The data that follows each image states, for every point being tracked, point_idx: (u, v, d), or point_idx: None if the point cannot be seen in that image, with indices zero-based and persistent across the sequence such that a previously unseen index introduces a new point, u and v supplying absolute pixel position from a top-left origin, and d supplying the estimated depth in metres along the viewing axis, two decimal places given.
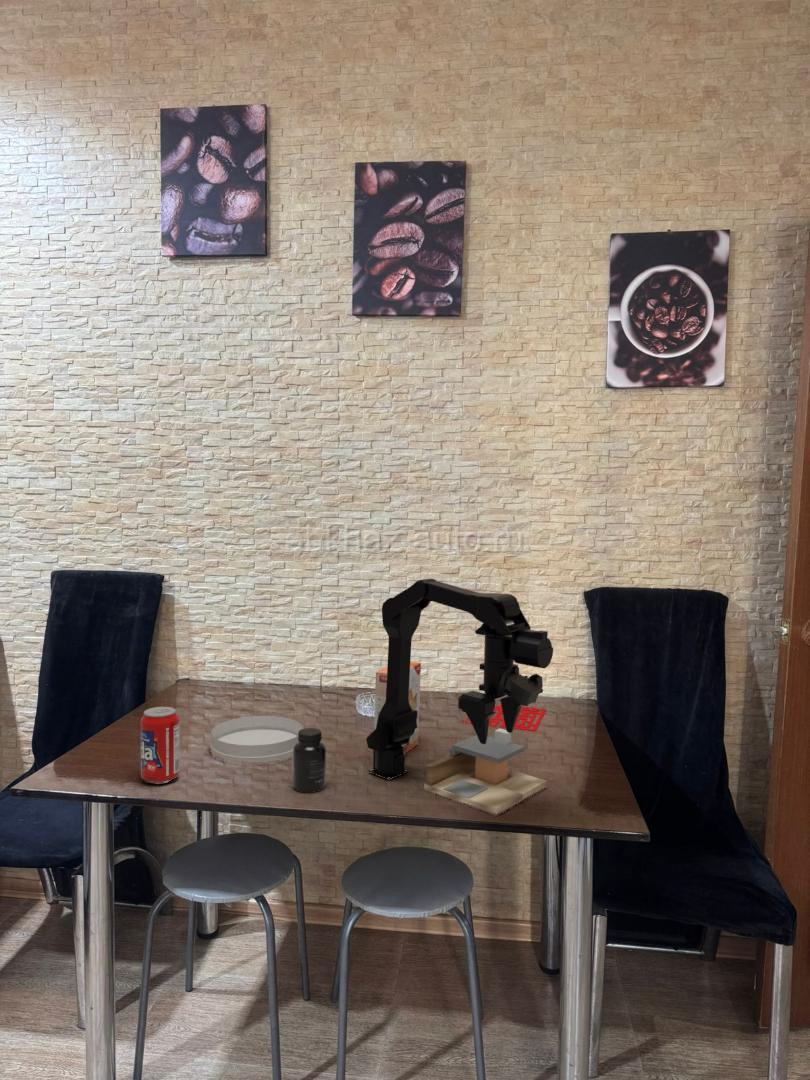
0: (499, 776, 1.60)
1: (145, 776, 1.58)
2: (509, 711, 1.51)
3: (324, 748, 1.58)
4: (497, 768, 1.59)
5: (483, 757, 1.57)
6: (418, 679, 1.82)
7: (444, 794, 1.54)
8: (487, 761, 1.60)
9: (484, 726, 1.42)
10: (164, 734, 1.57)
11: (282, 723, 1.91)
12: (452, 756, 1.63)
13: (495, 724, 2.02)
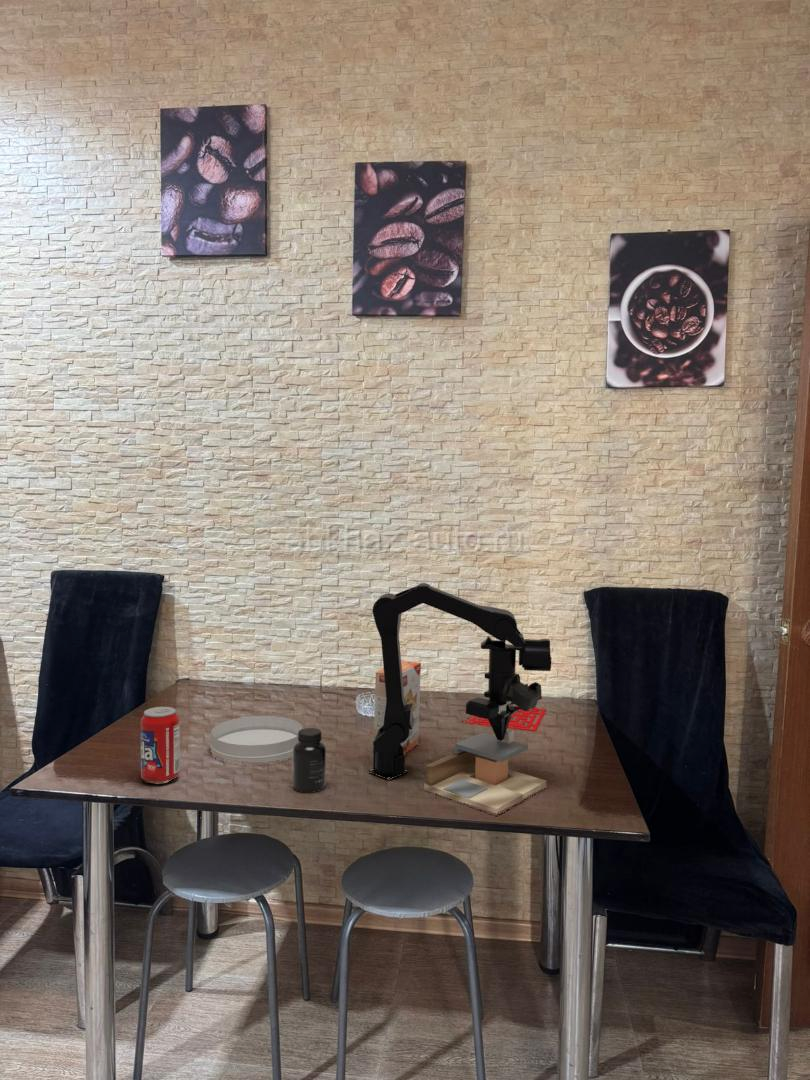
0: (499, 776, 1.60)
1: (145, 776, 1.58)
2: None
3: (324, 748, 1.58)
4: (497, 768, 1.59)
5: (486, 756, 1.58)
6: (418, 679, 1.82)
7: (444, 794, 1.54)
8: (487, 761, 1.60)
9: (501, 724, 1.62)
10: (164, 734, 1.57)
11: (282, 722, 1.91)
12: (452, 756, 1.63)
13: None
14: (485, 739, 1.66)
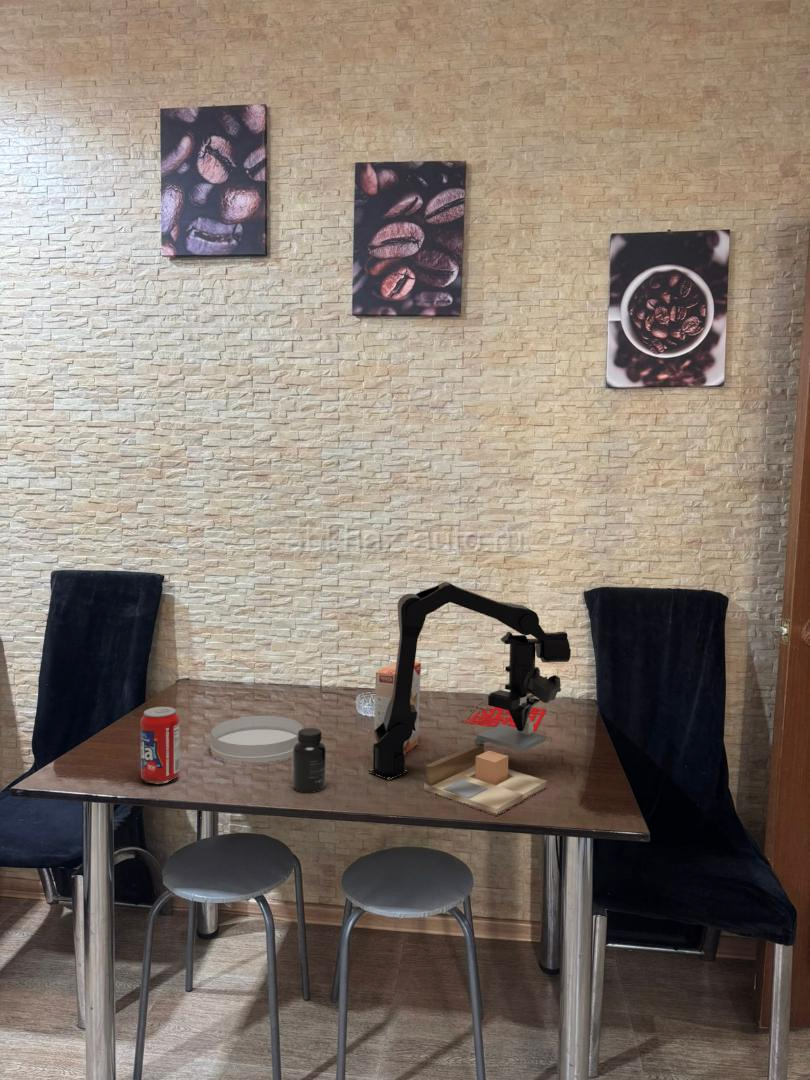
0: (499, 776, 1.60)
1: (145, 776, 1.58)
2: None
3: (324, 748, 1.58)
4: (497, 768, 1.59)
5: (507, 746, 1.64)
6: (418, 679, 1.82)
7: (444, 794, 1.54)
8: (487, 761, 1.60)
9: (521, 716, 1.68)
10: (164, 734, 1.57)
11: (282, 722, 1.91)
12: (452, 756, 1.63)
13: (495, 724, 2.02)
14: (506, 731, 1.72)
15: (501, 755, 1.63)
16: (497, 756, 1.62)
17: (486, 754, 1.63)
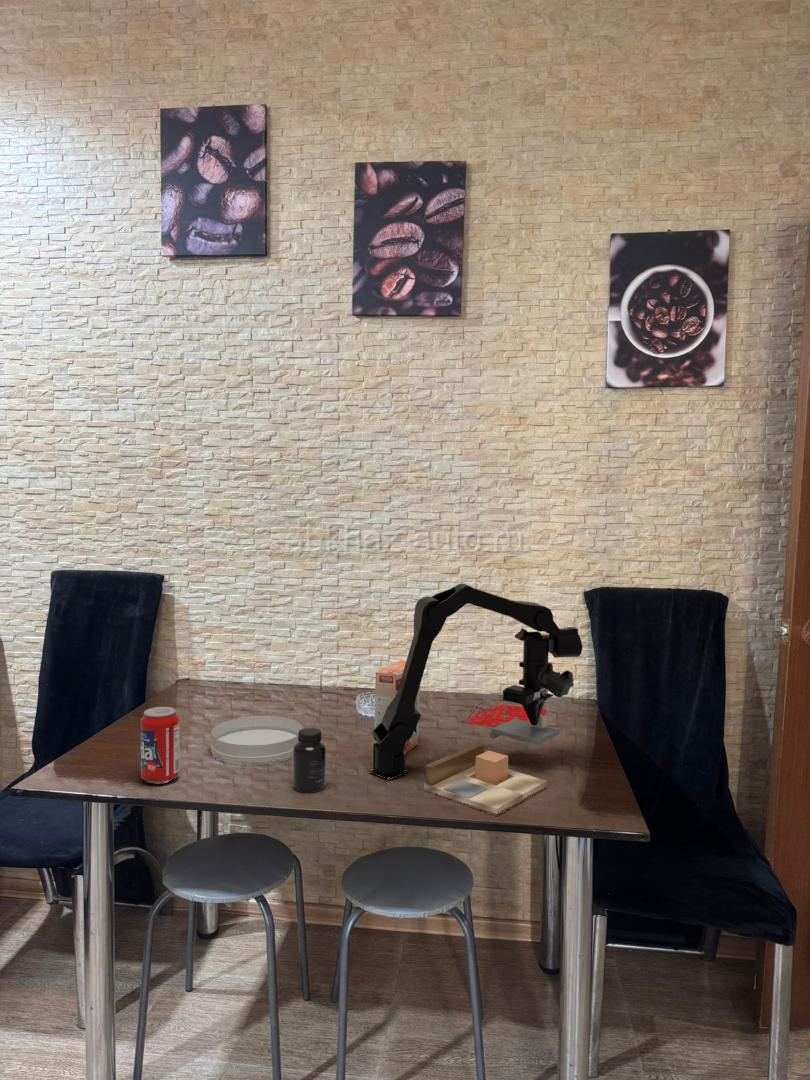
0: (499, 776, 1.60)
1: (145, 776, 1.58)
2: None
3: (324, 748, 1.58)
4: (497, 768, 1.59)
5: (522, 739, 1.69)
6: None
7: (444, 794, 1.54)
8: (487, 761, 1.60)
9: (535, 710, 1.72)
10: (164, 734, 1.57)
11: (282, 722, 1.91)
12: (452, 756, 1.63)
13: (495, 724, 2.02)
14: (519, 725, 1.77)
15: (501, 755, 1.63)
16: (497, 756, 1.62)
17: (486, 754, 1.63)
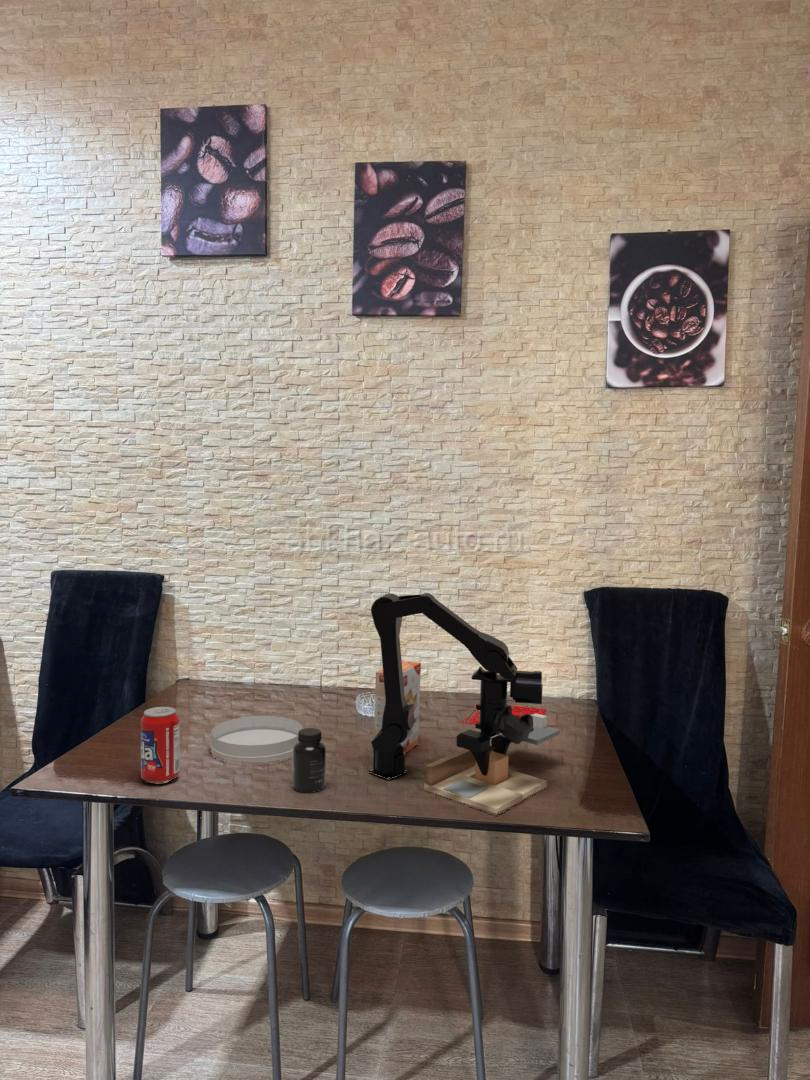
0: (499, 776, 1.60)
1: (145, 776, 1.58)
2: (498, 749, 1.64)
3: (324, 748, 1.58)
4: (497, 767, 1.59)
5: None
6: (418, 679, 1.82)
7: (444, 794, 1.54)
8: None
9: (485, 760, 1.58)
10: (164, 734, 1.57)
11: (282, 722, 1.91)
12: (452, 756, 1.63)
13: None
14: None
15: (501, 755, 1.63)
16: (498, 755, 1.62)
17: None
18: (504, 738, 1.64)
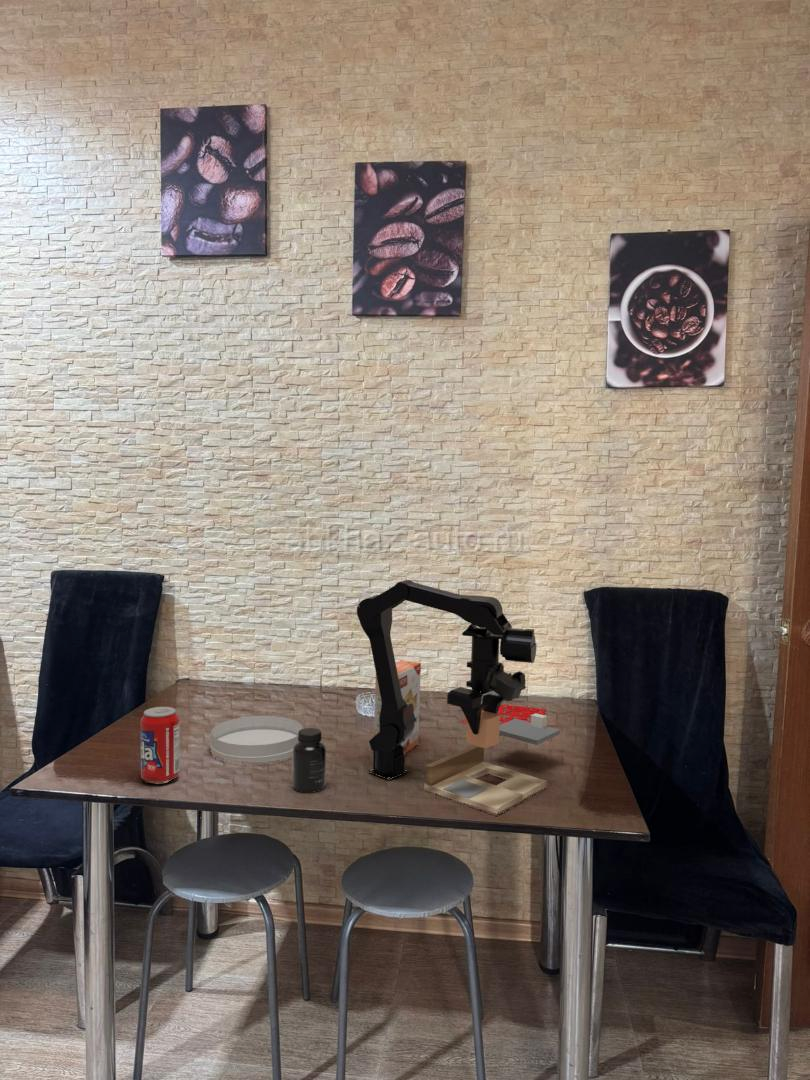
0: (491, 735, 1.57)
1: (145, 776, 1.58)
2: (489, 708, 1.61)
3: (324, 748, 1.58)
4: (488, 726, 1.56)
5: (522, 739, 1.69)
6: (418, 679, 1.82)
7: (444, 794, 1.54)
8: None
9: (476, 718, 1.55)
10: (164, 734, 1.57)
11: (282, 722, 1.91)
12: (452, 756, 1.63)
13: None
14: (520, 725, 1.77)
15: (493, 714, 1.59)
16: (489, 714, 1.59)
17: None
18: (495, 697, 1.60)
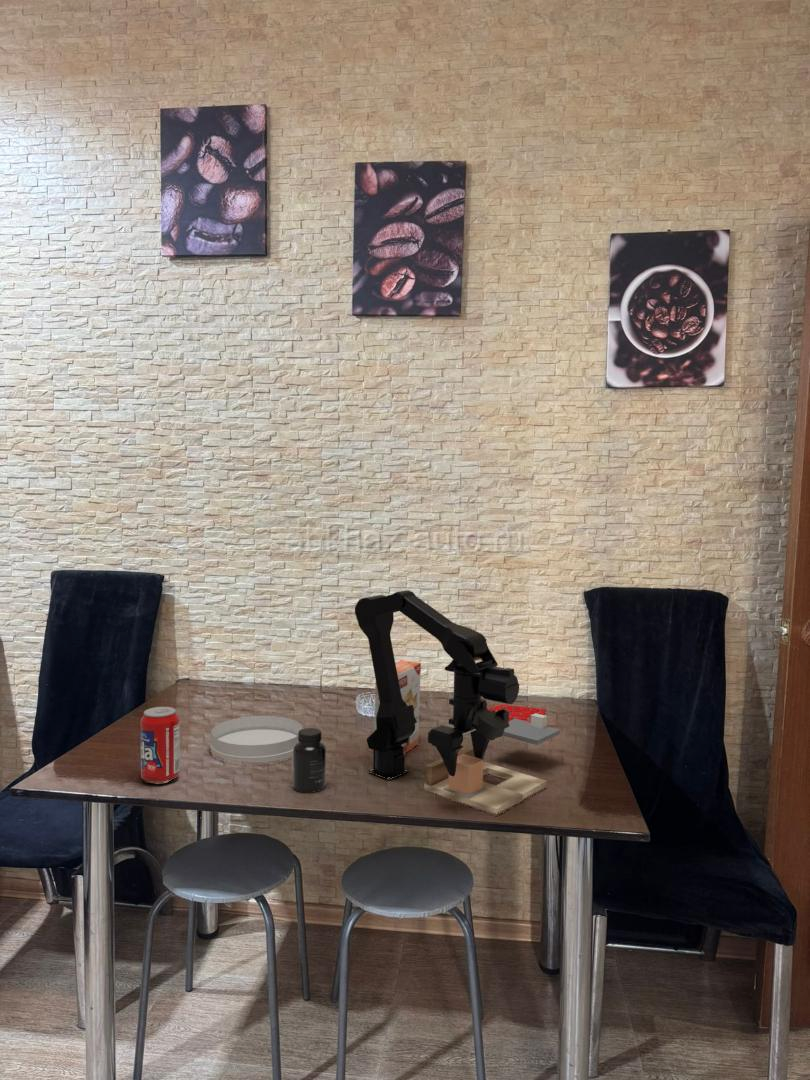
0: (473, 781, 1.53)
1: (145, 776, 1.58)
2: (478, 743, 1.58)
3: (324, 748, 1.58)
4: (471, 772, 1.52)
5: (522, 739, 1.69)
6: (418, 679, 1.82)
7: (444, 794, 1.54)
8: (461, 765, 1.52)
9: (453, 759, 1.49)
10: (164, 734, 1.57)
11: (282, 722, 1.91)
12: None
13: None
14: (520, 725, 1.77)
15: (476, 759, 1.55)
16: (472, 759, 1.55)
17: (460, 758, 1.55)
18: None
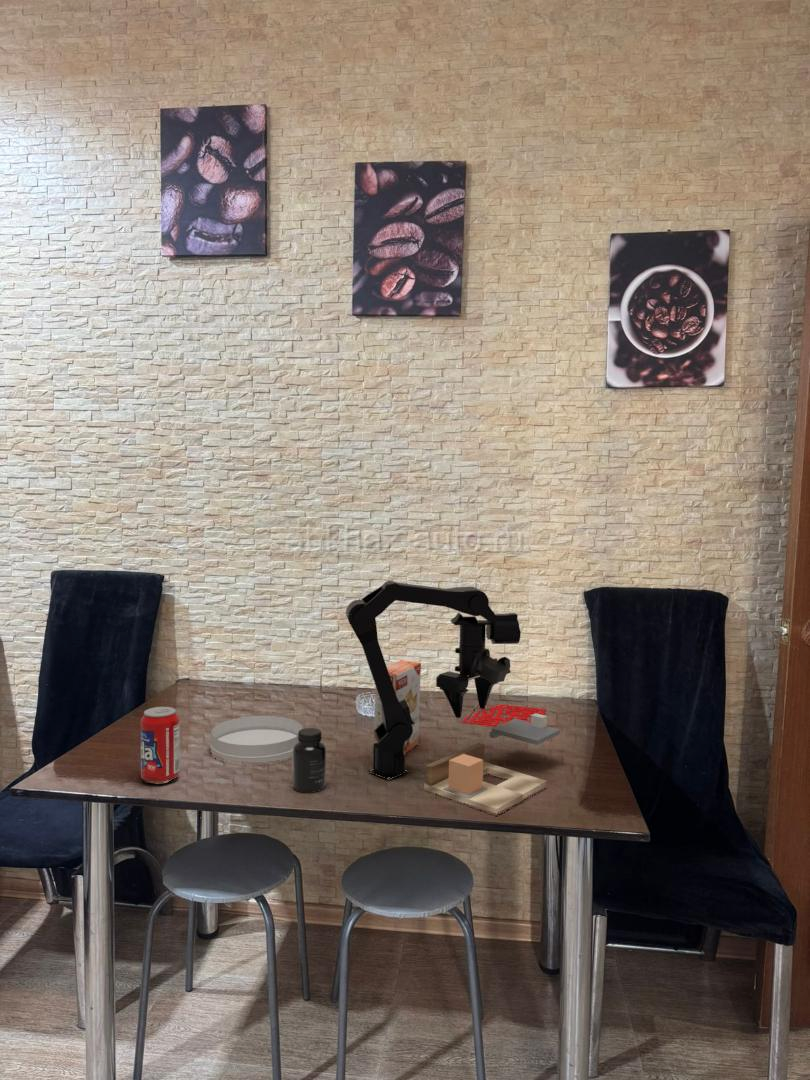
0: (473, 781, 1.53)
1: (145, 776, 1.58)
2: (482, 690, 1.72)
3: (324, 748, 1.58)
4: (471, 772, 1.52)
5: (522, 739, 1.69)
6: (418, 679, 1.82)
7: (444, 794, 1.54)
8: (461, 765, 1.52)
9: (459, 702, 1.63)
10: (164, 734, 1.57)
11: (282, 722, 1.91)
12: (452, 756, 1.63)
13: (495, 724, 2.02)
14: (520, 725, 1.77)
15: (476, 759, 1.55)
16: (472, 759, 1.55)
17: (460, 758, 1.55)
18: (487, 680, 1.72)
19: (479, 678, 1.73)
